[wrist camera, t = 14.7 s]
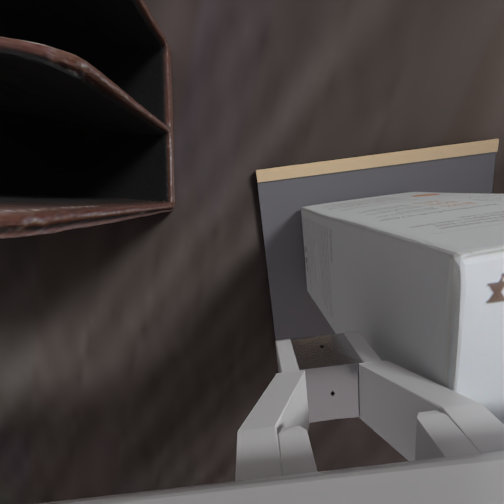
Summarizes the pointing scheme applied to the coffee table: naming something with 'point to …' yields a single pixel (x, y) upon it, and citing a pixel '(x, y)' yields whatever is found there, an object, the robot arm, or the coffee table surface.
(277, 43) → the coffee table surface
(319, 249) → the small box
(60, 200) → the letter holder
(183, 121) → the coffee table surface
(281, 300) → the mat
